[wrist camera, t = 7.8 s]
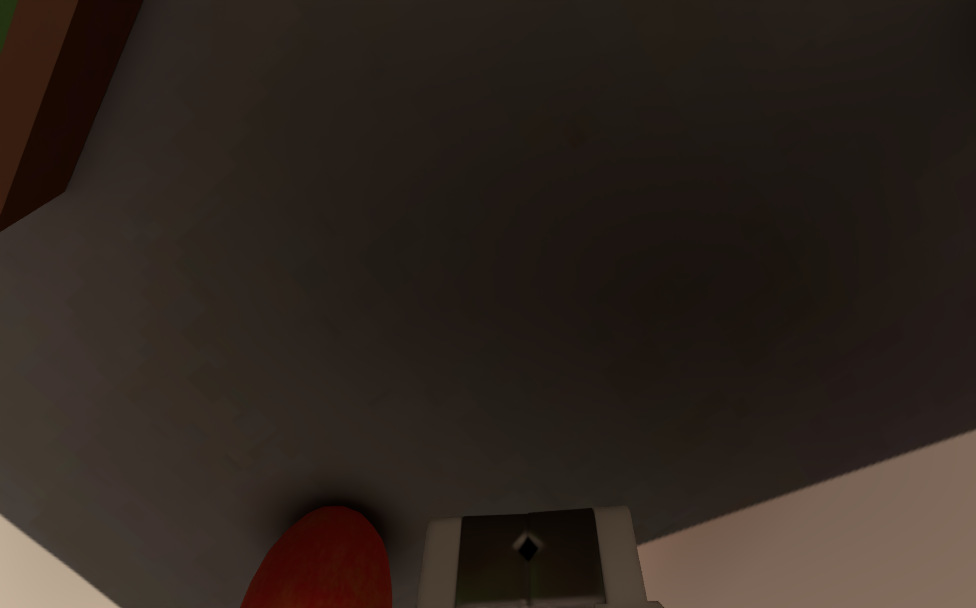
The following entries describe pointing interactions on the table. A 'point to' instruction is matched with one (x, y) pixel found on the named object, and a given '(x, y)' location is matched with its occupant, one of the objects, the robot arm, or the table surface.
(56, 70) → the hardcover book
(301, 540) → the apple
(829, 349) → the table surface
